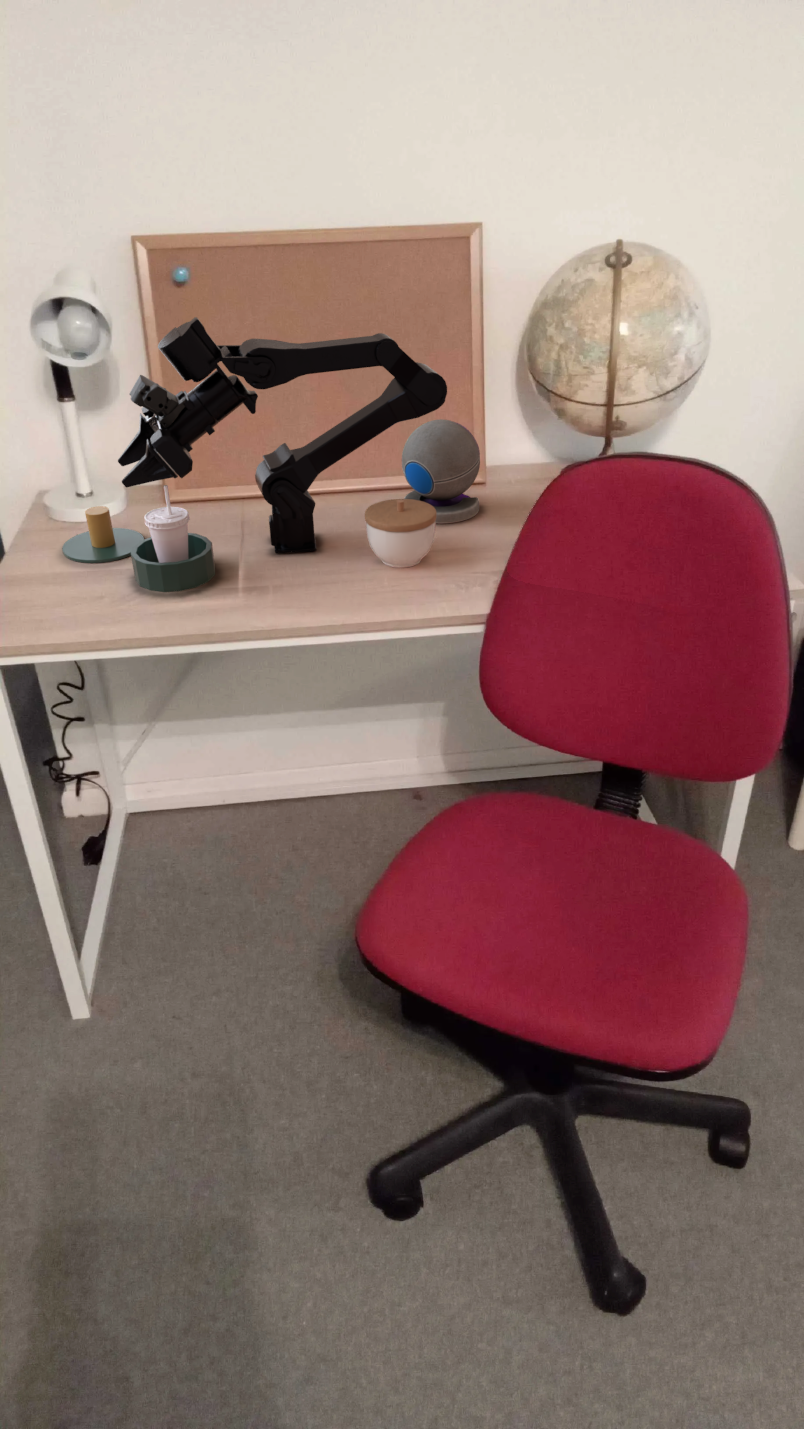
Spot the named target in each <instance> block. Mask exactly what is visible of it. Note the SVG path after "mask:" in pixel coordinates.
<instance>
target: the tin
mask: <svg viewBox="0 0 804 1429" xmlns="http://www.w3.org/2000/svg"><path fill="white" fill-rule="evenodd" d="M130 558H131V563H132V569H133V575H134V578H135V579H134V580H135V582H136V583H137V585H138V586H139V587H140V588H143V589H146V590H148V591H151V592H159V593H173V592H175V593H176V592H183V591H188V590H192V589H196V588H198V587H200V586H203V585H205V584H207V583H209V582H210V580H212V579H213V577H214V576H216V563H215V556H214V547H213V542H212V541H211V540H210V539H209V537H207V536H204V535H201V534H198V533H194V532H188V559H187V560H183V561H178V562H168V563H159V561H158V558H157V554H156V551H155V548H154V544H153V541H152V538H151V536H149V537H147V538H144V540H142V541H140V542H138V543H137V544H136V545H135V546H134V547H132V551H131V556H130Z"/></svg>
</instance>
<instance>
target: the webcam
mask: <svg viewBox="0 0 804 1429" xmlns="http://www.w3.org/2000/svg"><path fill="white" fill-rule="evenodd" d="M480 452H481V451H480V447H479V444H478V442H477V440H476V438H475V436H474V435H473V434H472V432H470V430H469V429H467V427H465V426H464V425H462V424H461V423H458V422H456V421H453V420H451V419H450V420H449V419H440V418H439V419H432V420H429V421H427V422H425V423H422V424H421V425H419V426H418V427H417V428H415V429H414V430H413V431H412V432H411V433H410V435H409V436H408V438H407V440H406V441H405V443H404V447H403V449H402V454H401V469H402V472H403V476H404V478H405V480H406V482H407V483H408V485H409V487H410V488H412V489H413V490H412V491H410V492H408V493H407V494H406V495H405V496H404V498H403V499H413V500H419V501H423V502H426V503H428V504H430V505H432V506H433V507H434V508H435V509H436V524H452V523H453V524H454V523H459V522H462V521H466V520H468V519H469V520H470V519H472V518H473V517H474V516H476V515H477V514H478V513H479V511H480V500H479V498H478V497H475V496H474V497H473V496H472V497H471V496H469V495H468V494H465V492H466V491H468V490H469V489H470V487H471V486H472V485H473V484H474V483H475V481H476V479H477V477H478V475H479V471H480V468H481V453H480Z"/></svg>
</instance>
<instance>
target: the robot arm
mask: <svg viewBox="0 0 804 1429" xmlns="http://www.w3.org/2000/svg"><path fill="white" fill-rule="evenodd" d="M157 349H158V350H159V351H160V352H161V354H162V355H163V356H164V357H165V358H166V360H167V361H168V362H169V363H170V365H171V366H172V367H173V369H175V371H176V372H177V373H178V374H179V376H180V378H182V379H183V380H184V382H187V381H188V382H189V381H191V380H192V382H193V383H199V384H197V385H196V386H195V387H193V389H191V390H190V391H188V392H187V391H186V390H184V391H183V390H180V391H179V392H178V393H177V394H174V393H172V392H170V391H169V390H168V389H167V388H166V387H163V386H161V385H160V384H159V383H158V382H155V381H153V380H151V379H150V378H148V377H147V376H145V375H142V374H139V375H138V378H137V379H136V381H135V383H134V384H133V387H132V388H131V390H130V391H129V396H130V401H131V402H132V403H134V405H136V406H138V407H140V408H141V412H142V413H139V424H138V425H139V427H138V431H137V432H136V434H135V435H134V437H133V438H132V440H131V441H130V442H129V444H128V445H127V447H126V448H125V449H124V451H123V452H122V454H121V455H120V456H119V457H118V459H117V463H118V464H119V465H120V466H121V467H125V466H128V465H132V464H133V463H135V465H134V466H133V467H132V468H131V469H130V470H129V472H127V474H126V475H125V476H124V478H122V480H121V484H122V485H123V486H124V487H125V488H131V487H135V486H139V485H144V484H148V483H153V482H156V481H162V480H166V479H167V480H168V479H177V478H180V479H183V478H185V477H186V476H187V475H188V474H190V473H191V472H192V471H193V466H194V464H193V463H194V461H193V458H192V455H191V453H190V452H191V451H192V450H194V448H193V446H192V445H193V444H194V443H196V442H197V441H198V440H199V439H201V438H202V437H203V436H204V435H205V434H208V436H211V435H212V434H214V433H215V432H216V430H215V428H214V427H216V426H217V425H218V424H219V423H221V422H222V421H223V420H224V419H225V418H227V417H228V416H229V415H230V414H231V413H233V412H234V411H235V410H236V409H238V408H239V407H240V406H241V405H244V406H245V408H246V409H247V410H248V411H249V413H250V414H252V415H254V414H256V413H257V400H258V398H259V395H258V393H257V391H256V390H249V389H247V387H246V386H245V385H244V383H243V382H242V381H241V380H240V378H239V377H242V378H243V379H244V381H245V382H246V383H247V384H248V385H249V386H250V387H252V388H253V389H257V390H268V389H271V388H276V387H278V386H281V385H284V384H287V383H289V382H291V381H293V380H295V379H297V378H299V377H303V376H306V375H315V374H322V373H323V374H324V373H331V372H339V371H346V370H347V371H349V370H356V369H366V368H375V367H382V368H384V369H385V370H386V371H387V372H388V373H389V374H390V375H391V376H393V378H392V379H391V380H390V382H389V383H388V385H387V387H386V388H385V389H384V391H383V392H382V394H380V396H378V397H377V398H376V399H374V400H372V401H370V402H369V403H368V404H367V405H365V406H364V407H362V408H360V409H359V410H357V411H355V412H354V413H353V414H350V416H348V417H347V418H345V419H344V420H342V421H340V422H339V423H337V424H336V425H334V426H333V427H331V428H330V429H328V430H327V431H325V432H324V433H322V434H321V435H319V436H317V437H316V438H314V439H313V440H311V441H309V443H307V444H305V445H304V446H302V447H298V448H294V449H290V447H289V446H288V444H287V443H286V442H283V443H282V444H280V445H279V446H278V447H277V448H276V449H274V451H272V452H270V453H268V454H267V453H266V454H262V458H263V460H262V461H261V462H259V463H258V465H257V466H256V470H255V474H254V476H255V477H254V478H255V483H256V485H257V487H258V489H259V491H260V493H261V495H262V497H263V499H264V500H265V501H266V502H267V503H268V505H271V514H269V516H268V527H269V536H270V545H271V546H272V547H274V548H273V549H274V553H275V554H290V553H307V552H316V551H317V541H316V533H315V524H314V512H315V508H316V502H315V500H314V498H313V497H312V495H311V493H310V492H309V489H310V487H311V486H312V484H313V483H314V481H315V480H316V479H317V477H318V476H319V475H320V474H321V473H322V472H324V471H325V470H326V469H329V468H330V467H332V466H333V465H334V464H337V463H338V462H339V461H341V460H342V459H343V458H345V457H347V456H348V455H350V454H351V453H353V452H355V450H358V449H359V448H361V447H362V446H364V445H365V444H366V443H368V442H370V441H371V440H373V439H374V438H376V437H377V436H379V435H380V434H382V433H384V432H385V431H387V430H388V429H390V428H391V427H393V426H394V425H396V424H398V423H402V422H405V421H408V420H409V421H410V420H414V419H419V418H421V417H423V416H425V415H428V414H430V413H433V412H435V411H436V410H438V409H440V408H441V407H442V406H443V405H444V404H445V402H446V398H447V395H448V385H447V382H446V380H445V379H444V377H443V375H441V374H439V373H438V372H437V371H436V370H434V369H433V368H431V367H430V366H429V365H427V364H425V363H422V362H418V361H415V360H413V358H412V357H410V356H409V354H407V353H406V352H405V351H404V350H403V349H402V348H401V347H399V344H398V343H397V341H396V340H394V339H393V338H392V337H391V336H389V335H388V334H386V333H383V332H377V333H375V334H372V335H367V336H358V337H357V336H356V337H350V338H349V337H348V338H347V337H346V338H339V339H328V340H320V341H311V342H300V343H297V342H288V341H283V340H277V339H266V338H265V339H264V338H249V339H246V340H245V341H242V342H241V344H224V345H223V344H222V345H221V344H218V345H217V344H216V342H215V341H214V340H213V339H212V337H211V336H210V335H209V333H208V332H207V331H206V328H205V326H204V325H203V323H202V322H201V321H200V319H199V317H197V316H194V317H193V318H192V319H191V320H189V321H186V322H184V323H182V324H181V325H179V326H178V327H173V328H172V329H171V330H170V331H169V332H168V333H166V334H165V336H163V338H162V339H161V340H160V341H159V343H158V345H157ZM220 362H221V363H222V364H223V366H224V367H225V368H226V369H227V370H228V372H229V373H230V374H233V375H229V376H228V374H227V373H226V372H225V371H224V369H223V368H222V366H220V365H219V363H220ZM238 376H239V377H238Z"/></svg>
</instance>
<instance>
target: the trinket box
mask: <svg viewBox="0 0 804 1429" xmlns="http://www.w3.org/2000/svg"><path fill="white" fill-rule="evenodd" d="M364 521H365V529H366V537H367V541H368V545H369V546H370V549H371V550H372V552H373V553H374V555H375V556H376V557H377V558H378V559H379V560H381V562H382V563H383V565H385V566H388V567H392V568H397V569H398V568H399V569H401V568H402V569H404V568H405V569H406V568H411V567H414V566H417V565H418V564H420V563H421V561H422V559H424V557H425V556H426V555H428V553H429V552H430V550H431V548H432V546H433V544H434V541H435V536H436V524H437V523H436V509H435V508H434V507H433V506H432V505H430V504H428V503H426V502H423V501H419V500H413V499H404V498H393V499H385V500H381V501H378V502H375V503H373V504H371V505H369V506H368V507H367V508H366V509H365V511H364Z"/></svg>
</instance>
